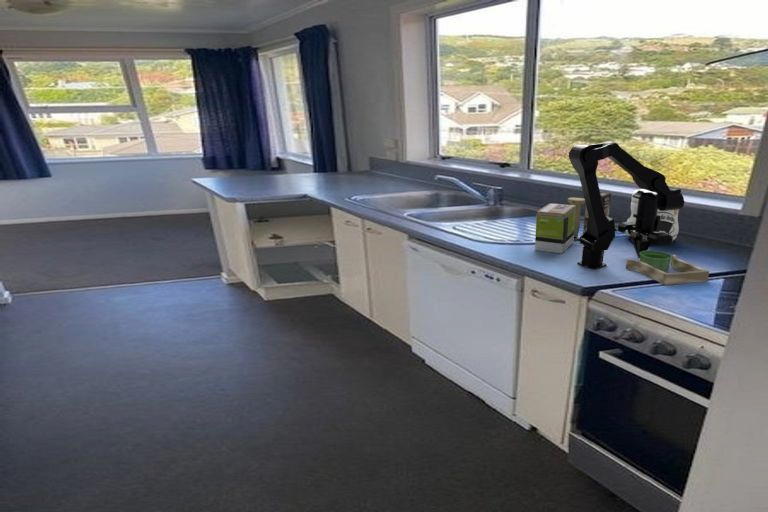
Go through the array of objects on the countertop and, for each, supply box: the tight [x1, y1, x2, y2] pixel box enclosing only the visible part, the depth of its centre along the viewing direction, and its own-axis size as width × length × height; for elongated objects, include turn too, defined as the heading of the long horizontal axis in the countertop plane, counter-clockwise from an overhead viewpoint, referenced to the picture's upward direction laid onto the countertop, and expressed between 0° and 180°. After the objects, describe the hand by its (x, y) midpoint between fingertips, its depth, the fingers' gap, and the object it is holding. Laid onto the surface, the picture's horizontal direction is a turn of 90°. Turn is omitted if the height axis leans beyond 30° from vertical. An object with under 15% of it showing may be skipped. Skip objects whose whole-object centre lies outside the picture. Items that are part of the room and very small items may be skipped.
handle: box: [567, 197, 586, 238], centre depth 184 cm, size 5×6×15 cm
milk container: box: [625, 188, 680, 241], centre depth 176 cm, size 17×17×18 cm
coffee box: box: [582, 191, 612, 235], centre depth 186 cm, size 9×6×16 cm
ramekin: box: [639, 249, 673, 272], centre depth 149 cm, size 9×9×4 cm
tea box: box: [534, 202, 576, 254], centre depth 172 cm, size 15×10×15 cm
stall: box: [625, 254, 710, 286], centre depth 144 cm, size 16×17×3 cm
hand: (640, 258), depth 156 cm, fingers closed
